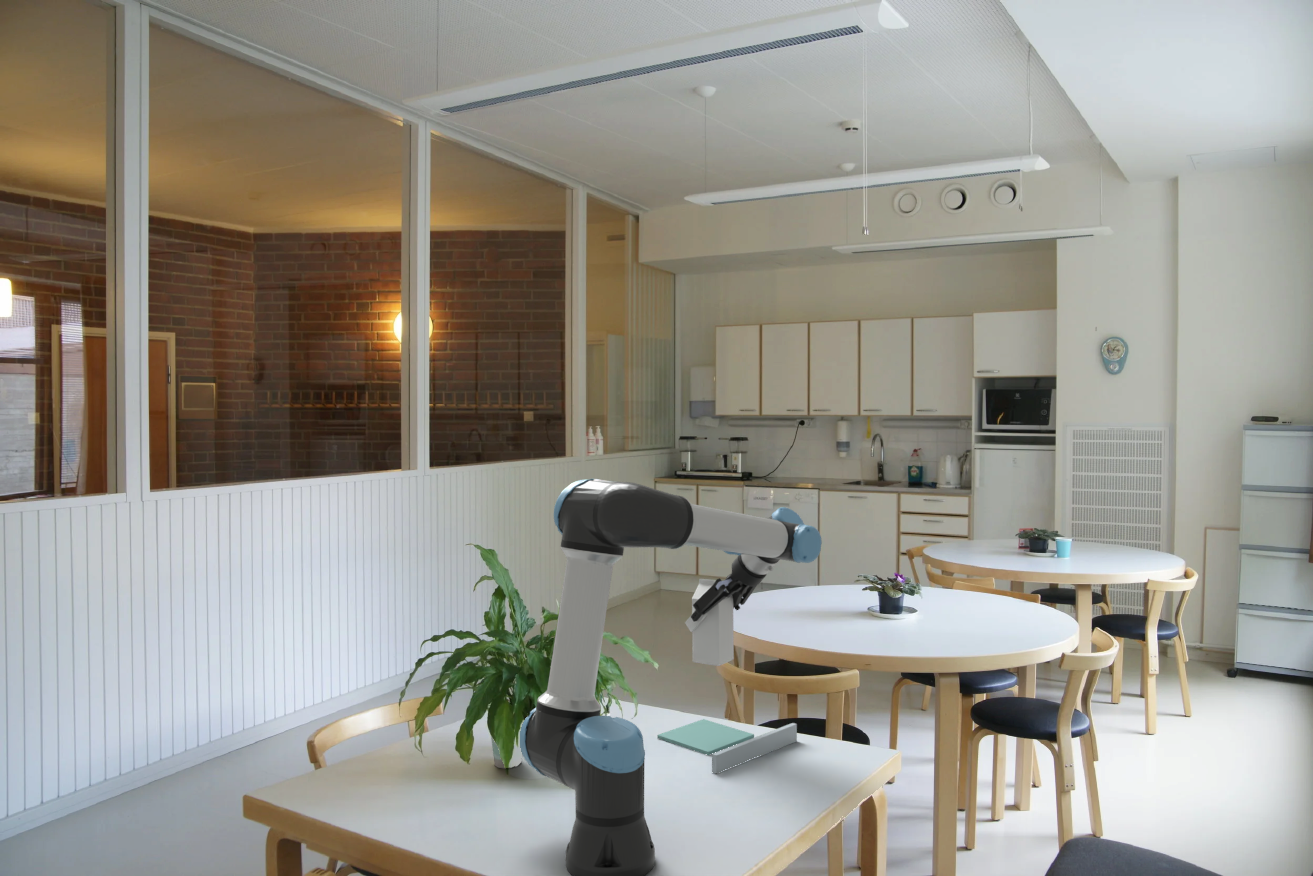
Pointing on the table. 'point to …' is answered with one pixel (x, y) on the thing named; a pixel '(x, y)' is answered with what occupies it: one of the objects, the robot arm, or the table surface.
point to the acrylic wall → (754, 747)
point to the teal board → (705, 736)
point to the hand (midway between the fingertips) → (702, 624)
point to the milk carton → (713, 630)
